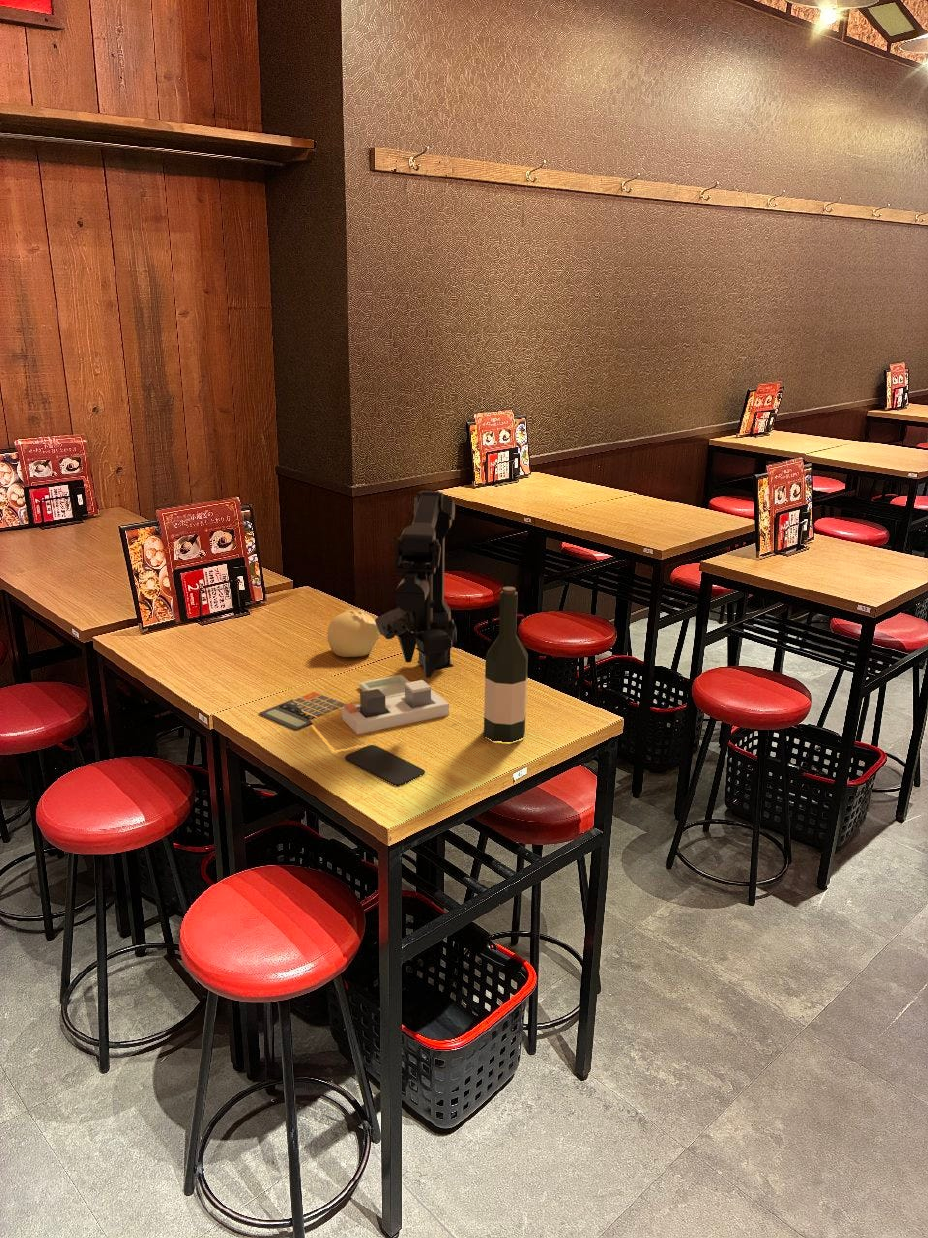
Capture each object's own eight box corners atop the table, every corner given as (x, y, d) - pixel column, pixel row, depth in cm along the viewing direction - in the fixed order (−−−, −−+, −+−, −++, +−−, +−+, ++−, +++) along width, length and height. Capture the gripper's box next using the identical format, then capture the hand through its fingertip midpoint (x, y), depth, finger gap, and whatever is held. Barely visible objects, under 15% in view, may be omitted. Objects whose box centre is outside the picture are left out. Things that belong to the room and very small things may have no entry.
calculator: (351, 704, 188) (296, 728, 177) (351, 708, 188) (296, 733, 177) (313, 689, 195) (258, 712, 184) (313, 693, 195) (258, 716, 184)
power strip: (431, 702, 191) (431, 674, 189) (448, 717, 184) (449, 687, 182) (342, 720, 182) (341, 691, 179) (357, 736, 175) (356, 706, 173)
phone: (397, 785, 157) (342, 756, 166) (397, 790, 157) (342, 760, 167) (427, 771, 162) (372, 743, 171) (427, 775, 162) (372, 747, 172)
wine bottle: (512, 748, 171) (518, 598, 162) (475, 737, 176) (478, 590, 166) (533, 732, 178) (539, 586, 168) (496, 721, 182) (500, 579, 172)
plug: (422, 706, 187) (422, 679, 186) (430, 713, 184) (431, 686, 182) (404, 710, 186) (404, 683, 184) (413, 717, 182) (413, 690, 180)
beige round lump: (387, 655, 216) (386, 613, 212) (342, 665, 209) (340, 622, 206) (364, 641, 225) (363, 600, 221) (320, 650, 218) (318, 608, 215)
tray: (401, 681, 201) (401, 674, 200) (420, 698, 193) (420, 690, 192) (359, 689, 196) (359, 682, 196) (377, 706, 188) (377, 699, 188)
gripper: (361, 588, 181) (363, 661, 186) (400, 615, 165) (400, 693, 170) (411, 581, 186) (411, 652, 191) (454, 607, 170) (453, 683, 175)
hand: (418, 669), depth 182 cm, fingers open, 9 cm apart
